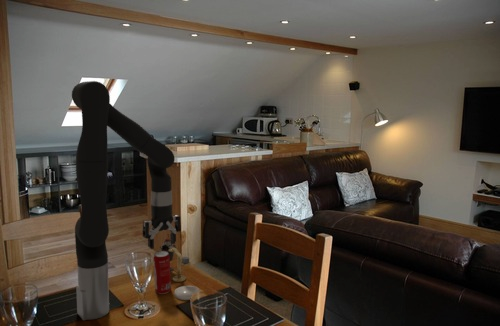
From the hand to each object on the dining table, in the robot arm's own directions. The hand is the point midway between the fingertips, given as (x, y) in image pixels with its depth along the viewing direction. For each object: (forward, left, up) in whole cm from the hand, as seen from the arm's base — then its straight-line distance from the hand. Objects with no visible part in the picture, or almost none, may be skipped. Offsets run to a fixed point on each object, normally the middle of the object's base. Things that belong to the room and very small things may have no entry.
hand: (162, 245), depth 144 cm
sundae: (+11, +16, -18) cm, 26 cm away
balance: (+10, +5, -18) cm, 21 cm away
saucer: (+6, -7, -18) cm, 20 cm away
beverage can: (0, 0, -18) cm, 18 cm away
